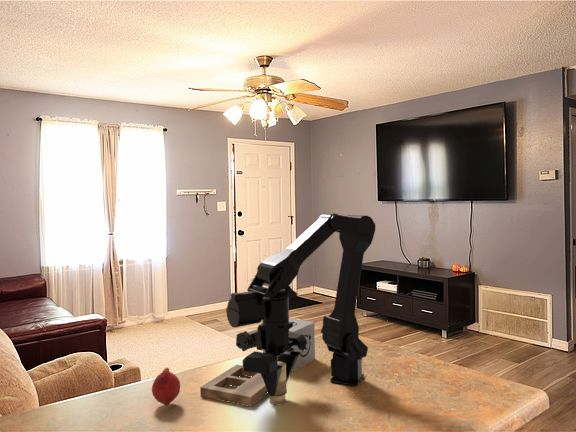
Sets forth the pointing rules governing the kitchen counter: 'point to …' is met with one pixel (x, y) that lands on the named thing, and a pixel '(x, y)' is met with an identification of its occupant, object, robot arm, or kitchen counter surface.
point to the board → (243, 394)
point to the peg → (280, 386)
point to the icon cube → (309, 333)
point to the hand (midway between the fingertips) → (277, 390)
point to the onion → (166, 387)
